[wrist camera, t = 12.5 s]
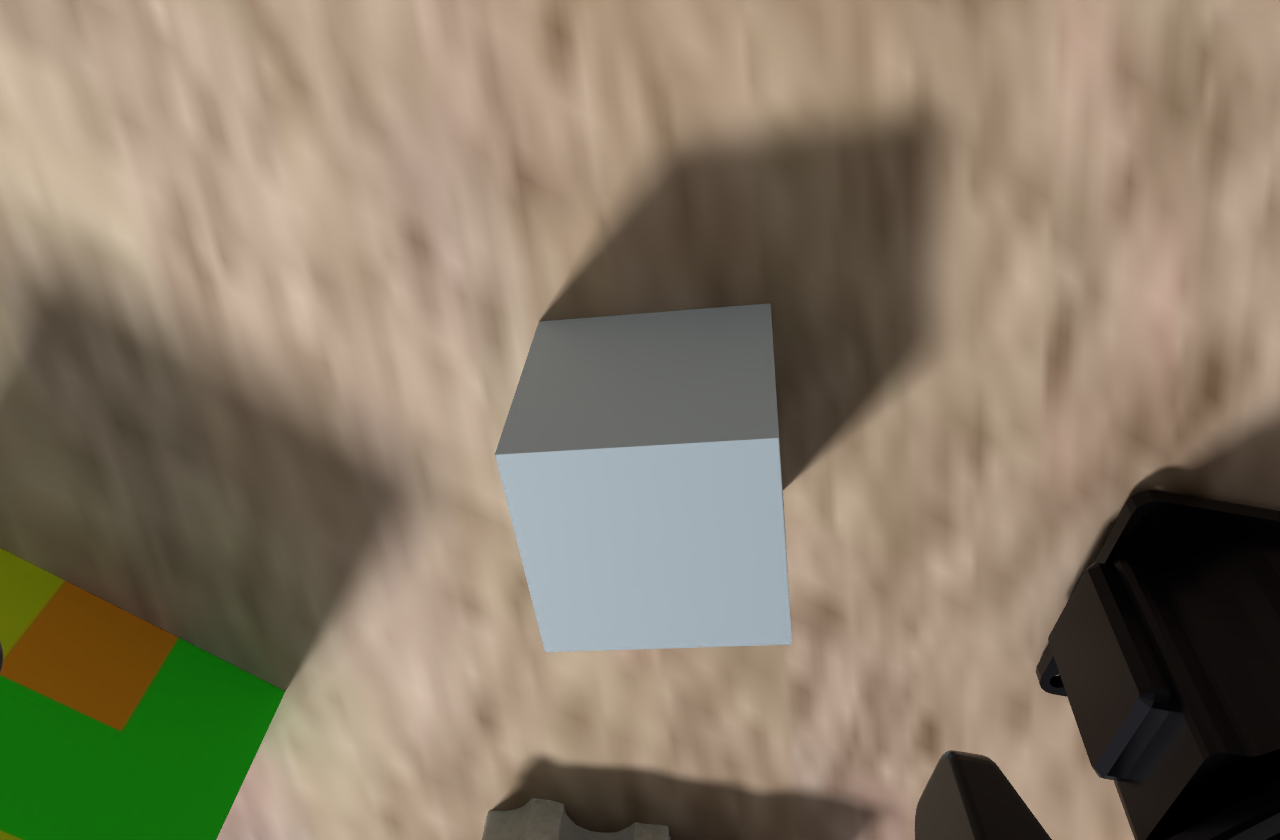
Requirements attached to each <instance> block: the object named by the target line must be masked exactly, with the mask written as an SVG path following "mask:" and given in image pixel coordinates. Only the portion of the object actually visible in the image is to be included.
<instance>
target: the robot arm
mask: <svg viewBox="0 0 1280 840" xmlns="http://www.w3.org/2000/svg"><path fill="white" fill-rule="evenodd" d="M1150 510H1157V511H1156V512H1155V513H1154V514H1151V515H1149V516H1143V515H1144V514H1145V513H1146V512H1148V511H1150ZM1048 641H1049V645H1048V647H1047V649H1046V651H1045V653H1044V654H1043V656H1042V658H1041V660H1040V662H1039V663H1038V665H1037V668H1036V674H1037V677H1038V680H1039V683H1040V686H1041V688H1042V689H1043V690H1044V691H1045V692H1048V693H1051V694H1055V695H1061V696H1068V699H1069V702H1070V705H1071V708H1072V711H1073V714H1074V717H1075V720H1076V722H1077V725H1078V728H1079V731H1080V734H1081V737H1082V740H1083V743H1084V746H1085V748H1086V751H1087V754H1088V757H1089V760H1090V763H1091V766H1092V767H1093V769H1094V770H1095V772H1096V773H1097V774H1098V776H1099V777H1101V778H1104V779H1110V780H1114V783H1115V785H1116V788H1117V791H1118V794H1119V797H1120V799H1121V802H1122V805H1123V808H1124V810H1125V813H1126V816H1127V819H1128V821H1129V824H1130V827H1131V830H1132V832H1133V835H1134V838H1135V840H1280V511H1274V510H1269V509H1263V508H1257V507H1251V506H1245V505H1239V504H1233V503H1228V502H1222V501H1216V500H1210V499H1204V498H1198V497H1192V496H1187V495H1181V494H1175V493H1169V492H1163V491H1157V490H1147V491H1143V492H1140V493H1138V494H1136V495H1134V496H1133V497H1131V498H1130V499H1129V501H1128V502H1127V503H1126V504H1125V506H1124V508H1123V510H1122V512H1121V514H1120V515H1119V517H1118V519H1117V521H1116V523H1115V525H1114V526H1113V528H1112V530H1111V532H1110V534H1109V536H1108V537H1107V539H1106V541H1105V543H1104V545H1103V546H1102V548H1101V550H1100V552H1099V554H1098V556H1097V557H1096V559H1095V561H1094V563H1093V564H1092V565H1090V566H1089V567H1088V568H1087V569H1086V570H1085V571H1084V573H1083V575H1082V577H1081V578H1080V580H1079V582H1078V584H1077V586H1076V588H1075V589H1074V591H1073V593H1072V595H1071V597H1070V599H1069V600H1068V602H1067V604H1066V606H1065V608H1064V610H1063V611H1062V613H1061V615H1060V617H1059V619H1058V621H1057V623H1056V624H1055V626H1054V628H1053V630H1052V632H1051V634H1050V635H1049V638H1048ZM2 666H3V648H2V645H1V641H0V673H1V670H2ZM1058 674H1060V675H1058ZM1055 675H1058V676H1055ZM915 840H1052V839H1051V838H1050V837H1049V835H1048V834H1047V833H1046V831H1045V830H1044V829H1043V827H1042V826H1041V824H1040V823H1039V822H1038V820H1037V819H1036V818H1035V816H1034V815H1033V814H1032V812H1031V811H1030V809H1029V808H1028V807H1027V805H1026V804H1025V803H1024V801H1023V800H1022V799H1021V797H1020V796H1019V795H1018V793H1017V792H1016V790H1015V789H1014V788H1013V786H1012V785H1011V784H1010V782H1009V781H1008V780H1007V778H1006V777H1005V776H1004V774H1003V773H1002V771H1001V770H1000V769H999V767H998V766H997V765H996V764H995V763H994V762H993V761H992V760H991V759H990V758H988V757H986V756H983V755H978V754H972V753H966V752H959V751H948V752H946V753H945V754H943V755H942V757H941V758H940V760H939V762H938V764H937V766H936V768H935V770H934V772H933V774H932V776H931V778H930V779H929V781H928V783H927V785H926V787H925V789H924V791H923V793H922V795H921V797H920V800H919V802H918V805H917V809H916V815H915Z"/></svg>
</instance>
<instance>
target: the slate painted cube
mask: <svg viewBox="0 0 1280 840" xmlns="http://www.w3.org/2000/svg"><path fill="white" fill-rule="evenodd" d="M495 457H496V461H497V465H498V469H499V473H500V477H501V481H502V485H503V489H504V493H505V497H506V501H507V504H508V508H509V512H510V516H511V520H512V524H513V528H514V532H515V536H516V540H517V544H518V548H519V552H520V556H521V559H522V563H523V567H524V571H525V575H526V579H527V583H528V587H529V591H530V595H531V599H532V603H533V607H534V610H535V614H536V618H537V622H538V626H539V630H540V634H541V638H542V642H543V646H544V650H545V652H569V651H600V650H631V649H662V648H693V647H724V646H755V645H786V644H792V637H791V620H790V604H789V587H788V570H787V554H786V537H785V520H784V504H783V487H782V472H781V456H780V441H779V425H778V410H777V394H776V379H775V363H774V348H773V332H772V317H771V303H768V304H755V305H742V306H729V307H717V308H704V309H691V310H679V311H666V312H653V313H640V314H628V315H615V316H602V317H590V318H577V319H564V320H551V321H539V323H538V326H537V329H536V332H535V335H534V338H533V341H532V344H531V347H530V350H529V353H528V356H527V359H526V362H525V365H524V368H523V371H522V374H521V377H520V380H519V384H518V387H517V390H516V393H515V396H514V399H513V402H512V405H511V408H510V411H509V414H508V417H507V420H506V423H505V426H504V429H503V432H502V435H501V438H500V441H499V444H498V447H497V450H496V453H495Z"/></svg>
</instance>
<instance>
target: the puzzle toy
mask: <svg viewBox="0 0 1280 840" xmlns="http://www.w3.org/2000/svg"><path fill="white" fill-rule="evenodd" d="M0 641H1V645H2V648H3V666H2V670H1V673H0V840H216V839H217V837H218V834H219V832H220V830H221V828H222V826H223V824H224V822H225V819H226V817H227V815H228V813H229V811H230V809H231V807H232V804H233V802H234V800H235V798H236V796H237V794H238V792H239V789H240V787H241V785H242V783H243V781H244V779H245V777H246V774H247V772H248V770H249V768H250V766H251V764H252V762H253V759H254V757H255V755H256V753H257V751H258V749H259V747H260V744H261V742H262V740H263V738H264V736H265V734H266V731H267V729H268V727H269V725H270V723H271V721H272V719H273V716H274V714H275V712H276V710H277V708H278V706H279V704H280V701H281V699H282V697H283V695H284V693H285V691H283V690H281V689H279V688H277V687H275V686H273V685H271V684H269V683H267V682H265V681H264V680H262V679H260V678H258V677H256V676H254V675H252V674H250V673H248V672H246V671H244V670H242V669H240V668H238V667H236V666H234V665H232V664H230V663H228V662H226V661H224V660H222V659H220V658H218V657H216V656H214V655H212V654H210V653H208V652H206V651H204V650H202V649H200V648H198V647H196V646H194V645H192V644H190V643H188V642H186V641H184V640H182V639H180V638H178V637H176V636H174V635H172V634H170V633H168V632H166V631H164V630H162V629H160V628H158V627H156V626H154V625H152V624H150V623H148V622H146V621H144V620H142V619H140V618H138V617H136V616H134V615H132V614H130V613H128V612H126V611H125V610H123V609H121V608H119V607H117V606H115V605H113V604H111V603H109V602H107V601H105V600H103V599H101V598H99V597H97V596H95V595H93V594H91V593H89V592H87V591H85V590H83V589H81V588H79V587H77V586H75V585H73V584H71V583H69V582H67V581H65V580H63V579H61V578H59V577H57V576H55V575H53V574H51V573H49V572H47V571H45V570H43V569H41V568H39V567H37V566H35V565H33V564H31V563H29V562H27V561H25V560H23V559H21V558H19V557H17V556H15V555H13V554H11V553H9V552H7V551H5V550H3V549H1V548H0Z"/></svg>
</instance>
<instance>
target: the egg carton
mask: <svg viewBox="0 0 1280 840" xmlns="http://www.w3.org/2000/svg"><path fill="white" fill-rule="evenodd" d="M482 840H672V839H671V838H670V835H669V827H668V826H664V825H655V824H644V823H639V822H634V823H633V824H632V825H631V826H629V827H628V828H626V829H624V830H621V831H619V832H612V833H600V832H593V831H589V830H586V829H584V828H582V827H579V826H577V825H576V824H575V823H573V822H572V821H571V820H570V819H569V817H568V816H567V814H566V812H565V806H564V804H562V803H558V802H555V801H552V800H547V799H539V798H531V799H530V800H529V801H528V802H527V803H526V804H525V805H524V806H522V807H520V808H518V809H514V810H508V811H489V812H488V814H487V817H486V822H485V826H484V832H483V838H482Z"/></svg>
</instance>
